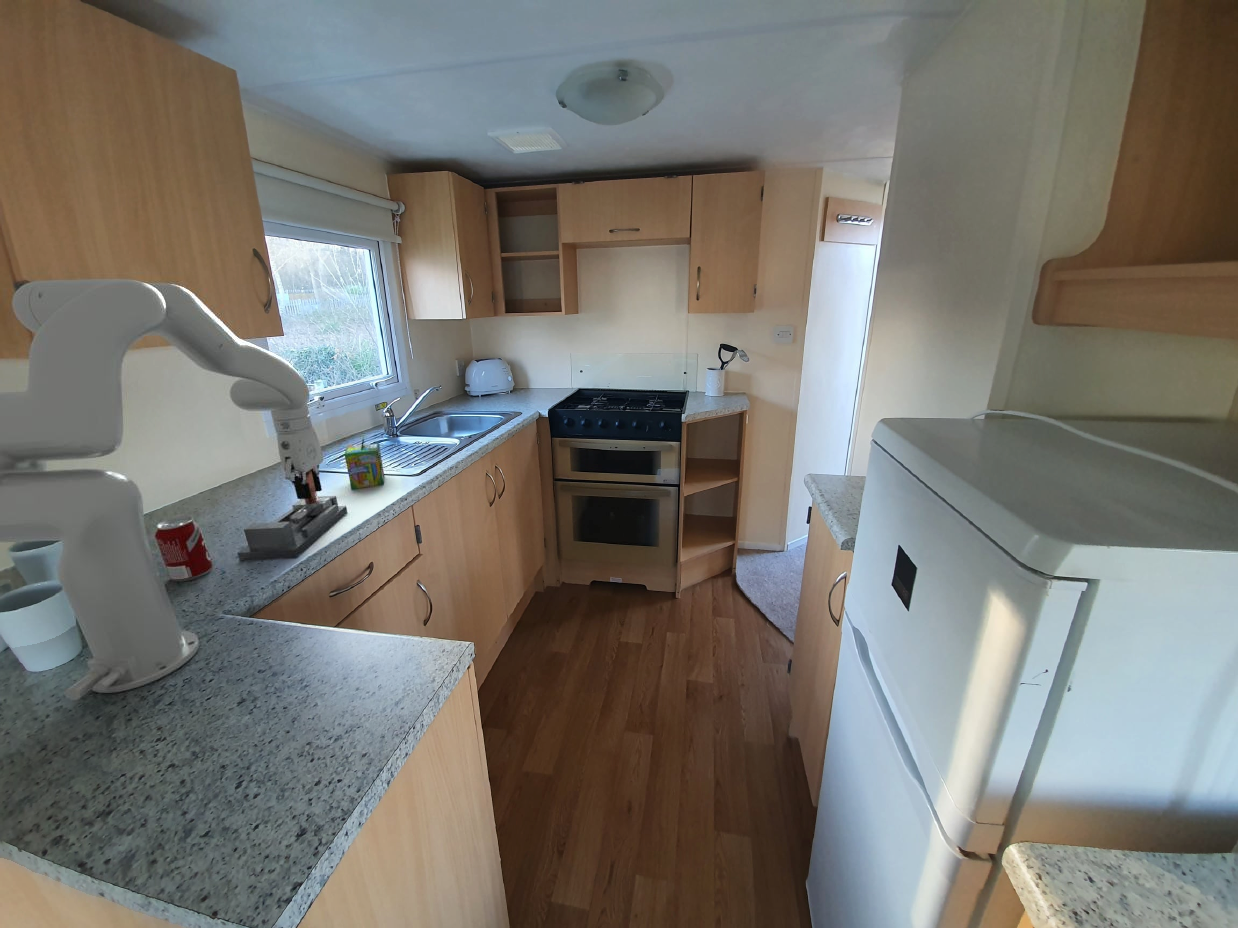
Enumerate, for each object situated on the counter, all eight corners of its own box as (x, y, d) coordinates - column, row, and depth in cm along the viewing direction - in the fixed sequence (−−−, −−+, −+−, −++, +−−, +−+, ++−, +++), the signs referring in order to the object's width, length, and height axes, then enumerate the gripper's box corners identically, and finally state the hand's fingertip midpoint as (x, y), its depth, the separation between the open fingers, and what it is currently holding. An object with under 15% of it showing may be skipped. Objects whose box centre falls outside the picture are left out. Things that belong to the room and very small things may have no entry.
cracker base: (296, 558, 105) (289, 529, 103) (239, 560, 105) (230, 531, 102) (347, 512, 128) (342, 488, 126) (300, 514, 127) (294, 490, 125)
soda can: (189, 585, 96) (170, 531, 92) (162, 582, 97) (142, 528, 93) (222, 567, 102) (205, 516, 98) (196, 565, 103) (179, 514, 100)
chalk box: (353, 480, 152) (344, 435, 147) (385, 476, 155) (377, 431, 151) (350, 490, 144) (340, 442, 139) (384, 485, 147) (375, 439, 142)
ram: (312, 525, 116) (302, 482, 112) (280, 526, 115) (269, 483, 112) (333, 508, 125) (324, 468, 122) (303, 509, 125) (293, 469, 121)
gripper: (289, 432, 108) (307, 507, 114) (326, 416, 124) (341, 482, 130) (254, 433, 108) (274, 508, 114) (296, 417, 124) (312, 483, 129)
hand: (310, 494), depth 122 cm, fingers open, 4 cm apart
